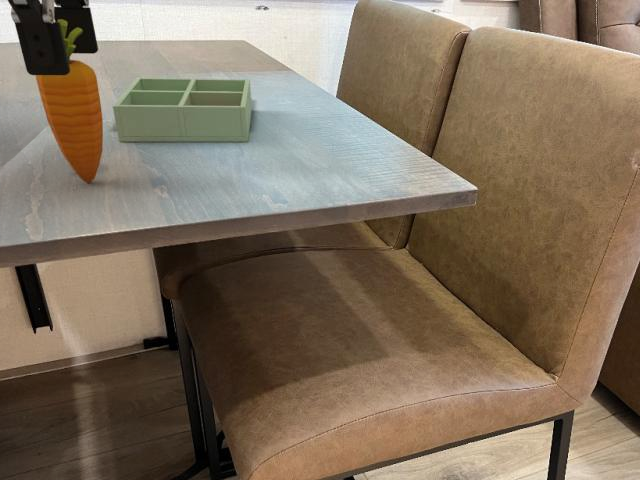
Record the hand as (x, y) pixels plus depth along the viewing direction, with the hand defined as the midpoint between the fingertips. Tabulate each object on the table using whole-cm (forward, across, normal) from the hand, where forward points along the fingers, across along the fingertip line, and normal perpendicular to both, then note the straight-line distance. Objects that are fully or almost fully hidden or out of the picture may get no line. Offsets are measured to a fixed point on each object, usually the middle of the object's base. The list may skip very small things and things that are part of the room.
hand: (66, 62), depth 57 cm
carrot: (+12, 0, 0) cm, 12 cm away
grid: (+11, -21, +7) cm, 25 cm away
